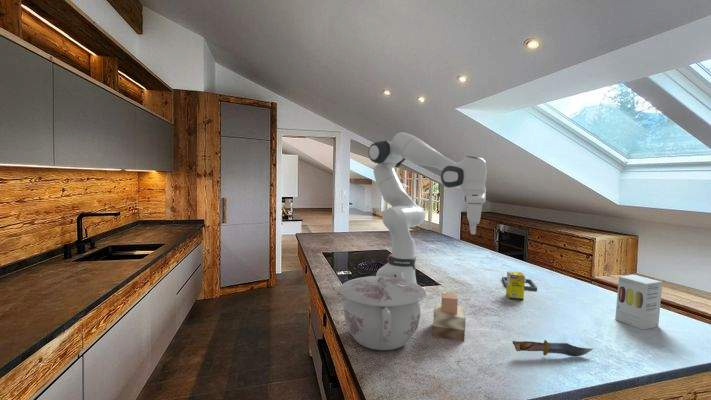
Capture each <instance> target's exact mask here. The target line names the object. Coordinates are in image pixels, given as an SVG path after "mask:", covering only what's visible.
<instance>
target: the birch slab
mask: <svg viewBox="0 0 711 400" xmlns="http://www.w3.org/2000/svg"><path fill="white" fill-rule="evenodd" d="M441 305H442V303H439V302H438V303H437V302H436V303H434V307H433V318H432V319H433V321H432V322H433V323H432V327H433V326H438V327H445V328H453V329H460V330H465V331H466V321H467V318H466V311H465V306H463V305H457V314H453V313H443V312H442V309H441Z"/></svg>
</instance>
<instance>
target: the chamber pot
mask: <svg viewBox="0 0 711 400" xmlns="http://www.w3.org/2000/svg"><path fill="white" fill-rule="evenodd" d="M339 293H340V295H341V296H342V297H344V298H345V300H344V302H343V315H344V322H345V326H346V328H347V330H348V331H349V333H350V334H351V336H352V338H353V339H354V340H355V341H356V342H357V343H358V344H359V345H360V346H363V347H365V348H367V349H370V350H375V351H394V350H397V349H400V348H402V347H404V346H405V345H407V344H408V342H409V341H410V340H411V338H412V337H413V336H414V334H415V332H416V331H417V330H418V327H419V323H420V319H421V304H420V302H421V301H422V300H423V299H424V298H425V297H426V295H427V294H426V290H425V289H424V287H422V286H421V285H420V284H418V283H417V284H416V283H414V282H412V281H408V280H405V279H401V278H395V277H387V276H376V275H374V276H372V275H370V276H363V277H356V278H354V279H349V280H347V281H345V282H344V283H342V284H341V286H340V287H339Z"/></svg>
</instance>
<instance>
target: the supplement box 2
mask: <svg viewBox="0 0 711 400" xmlns="http://www.w3.org/2000/svg"><path fill="white" fill-rule="evenodd" d="M617 285H618V286H617V294H616V295H617V296H616V305H615V308H616V309H615V319H614V320H617V321H619V322H621V323H624V324H626V325H629V326H632V327H635V328H637V329H640V330H641V331H644V330H648V329H653V328H657V327H659V324H660V323H659V322H660V312H661V311H660V310H661V301H662V289H663V281H661V280H657V279H652V278H649V277H646V276H645V277H644V276H641V275H637V274H628V275H620V276H618V283H617Z"/></svg>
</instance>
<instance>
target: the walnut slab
mask: <svg viewBox="0 0 711 400" xmlns="http://www.w3.org/2000/svg"><path fill="white" fill-rule="evenodd" d="M465 333H466V329H465V330H460V329H453V328H445V327H438V326H433V325H432V337H433V338H440V339H447V340H455V341H460V342H461V341H462V342H464V341H465V339H466V338H465Z"/></svg>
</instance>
